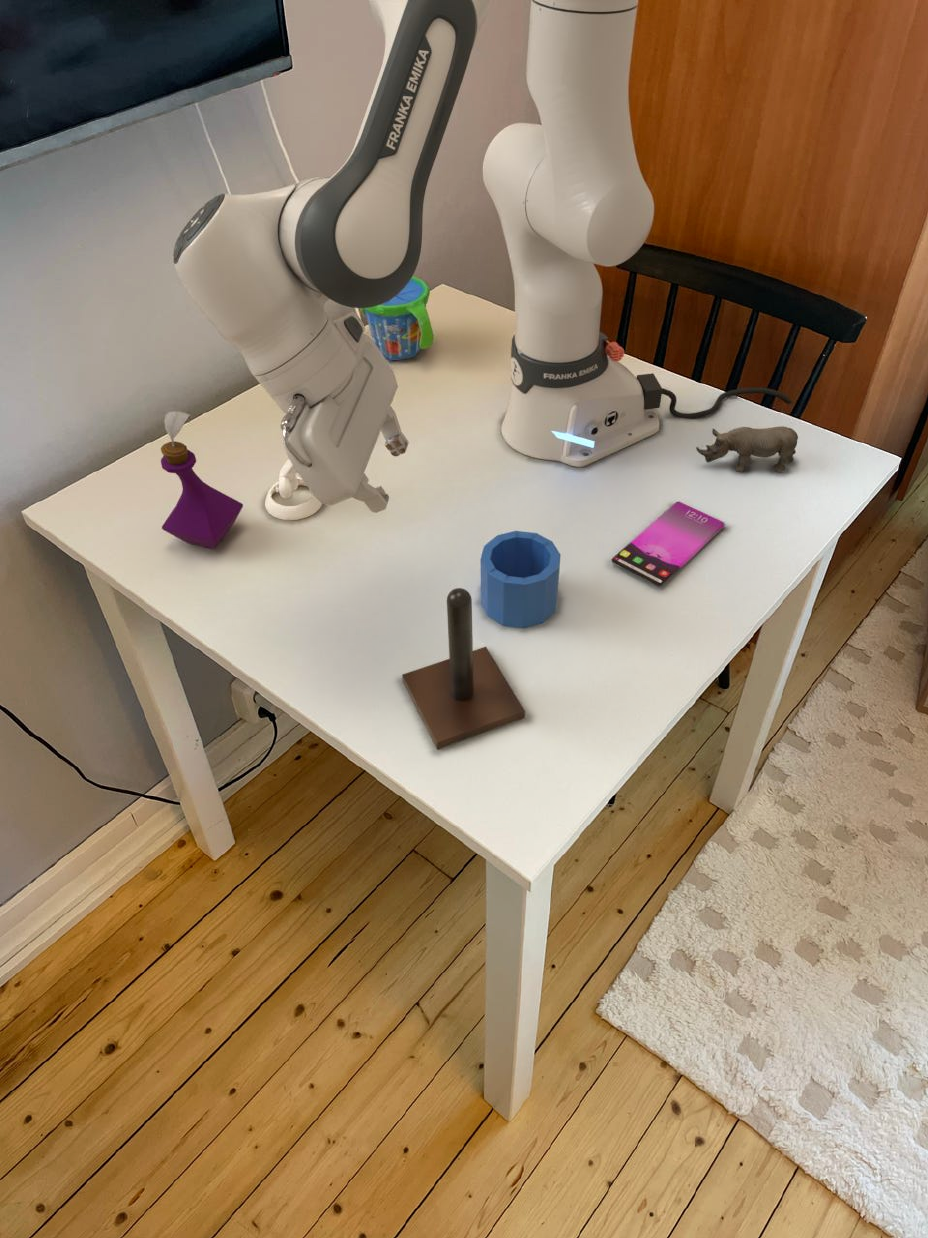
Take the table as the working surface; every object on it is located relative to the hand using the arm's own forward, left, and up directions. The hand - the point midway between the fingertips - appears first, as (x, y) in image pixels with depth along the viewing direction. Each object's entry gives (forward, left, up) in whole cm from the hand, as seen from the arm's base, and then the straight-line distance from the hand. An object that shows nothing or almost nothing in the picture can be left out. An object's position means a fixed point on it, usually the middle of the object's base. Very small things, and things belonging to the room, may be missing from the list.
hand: (392, 477), depth 98 cm
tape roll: (-13, +4, -20) cm, 24 cm away
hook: (+6, -25, -20) cm, 33 cm away
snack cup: (-20, -55, -20) cm, 62 cm away
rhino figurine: (-52, -7, -20) cm, 56 cm away
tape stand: (-1, +15, -20) cm, 25 cm away
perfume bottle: (+18, -23, -20) cm, 36 cm away
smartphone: (-34, +3, -20) cm, 39 cm away
